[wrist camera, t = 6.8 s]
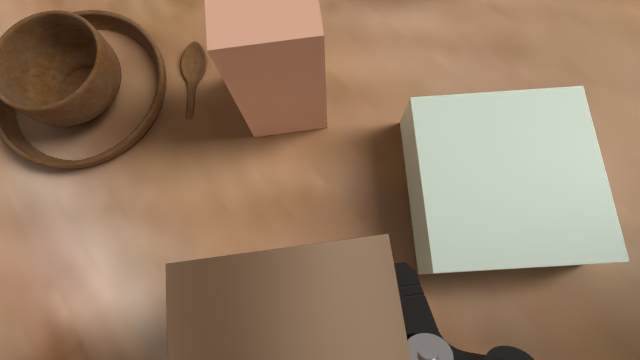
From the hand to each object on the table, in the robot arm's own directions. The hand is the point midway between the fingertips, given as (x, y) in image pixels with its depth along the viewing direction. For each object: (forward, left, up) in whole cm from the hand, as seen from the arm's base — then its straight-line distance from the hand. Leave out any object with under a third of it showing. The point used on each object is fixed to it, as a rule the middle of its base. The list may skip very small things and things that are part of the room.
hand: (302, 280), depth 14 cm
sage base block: (-12, +4, -10) cm, 16 cm away
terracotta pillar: (-8, -10, -10) cm, 16 cm away
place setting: (-1, -24, -11) cm, 26 cm away
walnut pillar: (+1, +2, -4) cm, 5 cm away
